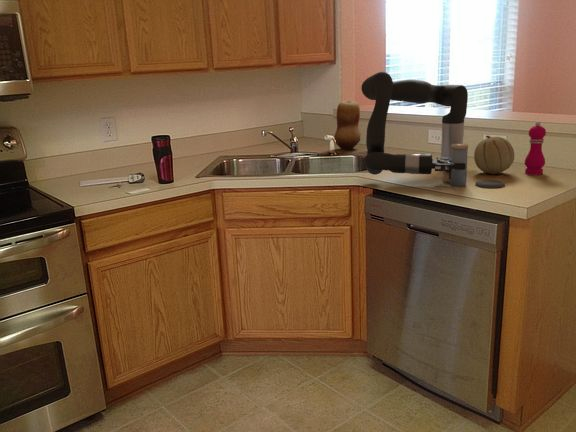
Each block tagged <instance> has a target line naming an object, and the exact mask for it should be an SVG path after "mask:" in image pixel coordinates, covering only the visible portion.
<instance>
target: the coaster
mask: <svg viewBox="0 0 576 432" xmlns="http://www.w3.org/2000/svg"><path fill="white" fill-rule="evenodd" d="M505 185H506V183H505V182H504V181H500V180H491V179H490V180H487V179H486V180H483V179H482V180H478V181H475V186H476V187H479V188H483V189H501V188H504V187H505Z"/></svg>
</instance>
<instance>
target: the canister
mask: <svg viewBox="0 0 576 432" xmlns="http://www.w3.org/2000/svg"><path fill="white" fill-rule="evenodd" d="M451 148H452V155H451V163H454V164H455V163H465V164H466V167H465V170H452V171H451V182H449V183H450V184H449V185H450V186H451V187H457V188H461V187H466V186H467V175H468V173H467V172H468V153H469V152H468V150H469V144H468V143H463V144H452V145H451Z"/></svg>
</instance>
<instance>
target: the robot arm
mask: <svg viewBox="0 0 576 432" xmlns="http://www.w3.org/2000/svg"><path fill="white" fill-rule="evenodd" d="M360 88H361V89H360V90H361V92H362V95H363V96H364V97H365V98H367V99H368V100H369V101H374V107H373V110H372V112H371V115H370V118H369V121H368V124H367V128H366V137H365V138H366V139H365V140H366V141H365V145H366V155H365V157H364V159H363V166H364V168H365V169H366V170H367V172H368V173H369V174H371V175H373V176H374V175H379V174H381V173H382V172H383V171H387V172H391V173H394V174H408V175H409V174H410V175H431V174H432V172H433V170H434V172H443V171H452V170H465V167H466V164H465V163H455V164H454V163H451V155H452V148H451V145H452V144H464V137H465V136H464V132H465V131H464V130H465V129H464V128H465V118H466V115H467V111H468V109H467V108H468V100H469V99H468V97H469V94H468V89H467V87H466V86H465V85H462V84H442V85H440V84H439V85H435V84H431V83H430V82H428V81H425V80H420V79H404V80H397V81H393V79H392V77H391V75H390V74H389V73H388V72H386V71H379V72H376V73H375V74H372V75H371V76H369V77H367V78H366V79H365V80H364V81H363V82H362V84H361V87H360ZM391 101H396V102H405V103H414V104H427V103H433V104H436V105H441V106H444V107H450V109H449V112H448V113H446V114H445V115H443V116H442V119H441V139H440V140H441V146H440V157H439V156H437V157H436V158H435V159H434V158H433V154H432V153H407V154H405V153H404V154H402V153H401V154H399V153H398V154H393V153H389V152H388V153H387V152H385V142H386V138H385V137H386V124H387V117H388V114H389V113H388V111H389V108H390V103H391ZM432 169H433V170H432Z"/></svg>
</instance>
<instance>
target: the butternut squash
mask: <svg viewBox="0 0 576 432" xmlns="http://www.w3.org/2000/svg"><path fill="white" fill-rule="evenodd" d="M360 109H361V107H360V104H359V103H358V102H357V101H351V100H343V101H341V102H339V104H338V105H337V109H336V130H335V132H334V133H335V134H334V136H333V137H334V141H335V140H336V142H335V144H336V145H337V146H338V147H339V148H340V149H341V150H342V149H346V150H351V149H354V147H356V146H357V145H358V144H359V143H360V141H361V132H360V129H359V122H360V119H361V118H360V117H361V113H360V112H361V110H360Z"/></svg>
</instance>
